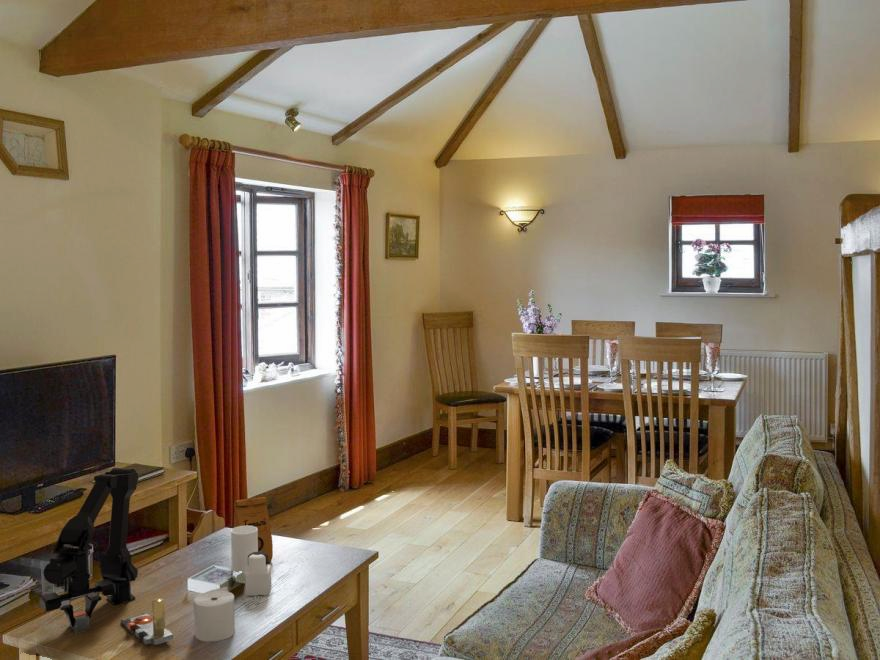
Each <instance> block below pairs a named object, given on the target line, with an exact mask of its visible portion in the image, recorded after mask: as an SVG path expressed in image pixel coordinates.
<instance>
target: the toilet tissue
mask: <svg viewBox="0 0 880 660" xmlns="http://www.w3.org/2000/svg"><path fill="white" fill-rule="evenodd" d="M193 608H194V609H193V612H194V614H193V616H194V622H193V623H194V636H195V638H196V639H197V640H199V641H202V642H211V643H212V642H220V641H224V640H226V639H229V638H231V637H232V636H233V635H234V634H235V631H236V629H235V627H236V625H235V624H236V623H235V621H236V620H235V595H234V593H232V592H230V591H229V590H228V586H225V587H219V588H216V589H210V590H208V591H205V592H202V593H200V594H198V595H197V596H196V597H195V598H194V599H193Z"/></svg>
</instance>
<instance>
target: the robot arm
mask: <svg viewBox="0 0 880 660" xmlns="http://www.w3.org/2000/svg"><path fill="white" fill-rule="evenodd" d="M138 483H139V474H138V472H137V470H136V469H135V468H130V467H129V468H128V467H113V468H111V470H108V471H105V472H102V473H101V474H98V475H97V476H96V477H95V480H94V484H93V486H92V488H91V489H90V492H89V493H88V495H87V497H86V498H85V500H84V502H83V503H82V506H81V507H80V509H79V511H78V513H77V514H76V515H74V516H73V517H72V518H70V519H69V520H68V521H67V522H66V523H65V525H64V526H63V528H62V529H61V530H60V533H59V535H58V539H57V542H56V544H55V547H54V549H53V554H55V556H52V557H51V558H50V559H49V563H48V564H46V565H45V567H44V569H43V576H44V579H45V580H46V581H47V582H48V583H49V584H52V585H53V587H54V589H55V588H61V590H63V592H65V593H64V594H60V595H59V594H58V593H57V592H55V591H54V592H51V593H46V594H44V595H41V597H40V598H39V606H40V608H42V609H43V610H44V611H45V612H51V611H55V610H58V609H59V610H61V611H63V612H64V613H65V615H66V618H67V620H68V622H69V626H70V625H71V627H74V615H73V611H74V606H73V605H72V604H71V601H72V600H76V599H79V598H80V599H81V598H84V601H85V602H84V603H85V604H84V605H85V608H84V609H85V610H84V611H85V612H86V613H87V614H88V615H89V620H90V619H91V617H92V614H93V612H94V610H95V608H96V606H97V604H98V603H99V602H100V601H102V600H103V598H102V596H105V597H106V600H108V601H109V602H110V603H112V604H113V605H117V604H122V603H125V602H130V601H133V600H136V596H134V595H133V594H132V593H131V592H132V589H131V588H132V586H131V583H132V582H135V581H136V578H138V575H139V574H138V572H139V570H138V569H137V567H136V566H134V564H133V563H132V554H131V553H130V550H129V548H128V547H127V544H128V528H129V516H130V515H129V514H130V503H131V497H132V496H133V494H134V493H135V492H136V490H137V486H138V485H137V484H138ZM109 495H110V496H111V499H112V500H111V511H110V514H111V515H110V526H109V536H108V537H109V538H108V539H109V540H108V547H107V549H106V550H105V552H104V553H101V555H100V562H99V563H100V564H99V567H98V568H99V572H100V574H101V577H102V580H98V581H97V580H96V581H94V586H90V578H91V574H90V571H89V567H90V566H89V551H90V550H92V549H93V546H92V545H91V544H90V543H91V541H92V539H93V535H94V534H95V521H96V520H97V518H98V516H99V513H100V512H101V510H102V508H103V506H104V505H105V503H106V501H107V499H108V497H109ZM64 546H65V547H64ZM100 594H102V596H101V595H100ZM71 627H70V628H71Z"/></svg>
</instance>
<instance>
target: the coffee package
mask: <svg viewBox="0 0 880 660" xmlns="http://www.w3.org/2000/svg"><path fill="white" fill-rule="evenodd" d="M233 506H234V515H233V517H234V518H233V528H235V527H239V526H254V527H257V530H258V551H260V552H265V553H267V555H268V563H272V559H273V557H274V555H273V554H274V553H273V552H274V551H273V550H274V549H273V547H274V545H273V535H272V529H271V528H272V527H271V523H270V516H269V510H268V505H267V497H266V496H262V497H256V498H255V497H254V498H245V499H237V500H234V505H233Z"/></svg>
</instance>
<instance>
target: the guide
mask: <svg viewBox="0 0 880 660" xmlns="http://www.w3.org/2000/svg"><path fill="white" fill-rule="evenodd" d="M144 614H145V613H141V615H144ZM141 615H139V616H141ZM127 623H130V618H128V619H127V618H126V619H121V620H120V624H121V625H122V626H123V627H124V628H125V629H126V630H128V631H129V632H130V633H131V634H133V636H135V638H137V639H138V640H139V641H140V640H141V641H140V642H142V643H143V645H145V646H150V645H154V644H153V643H151V644H148V645H146V644H145V643H144V640H143V637H145V636H142V637H139V638H138V637H137V636H136V635H135V630H137V629H135V630H131V631H130V630H129V629H128V625H127Z"/></svg>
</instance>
